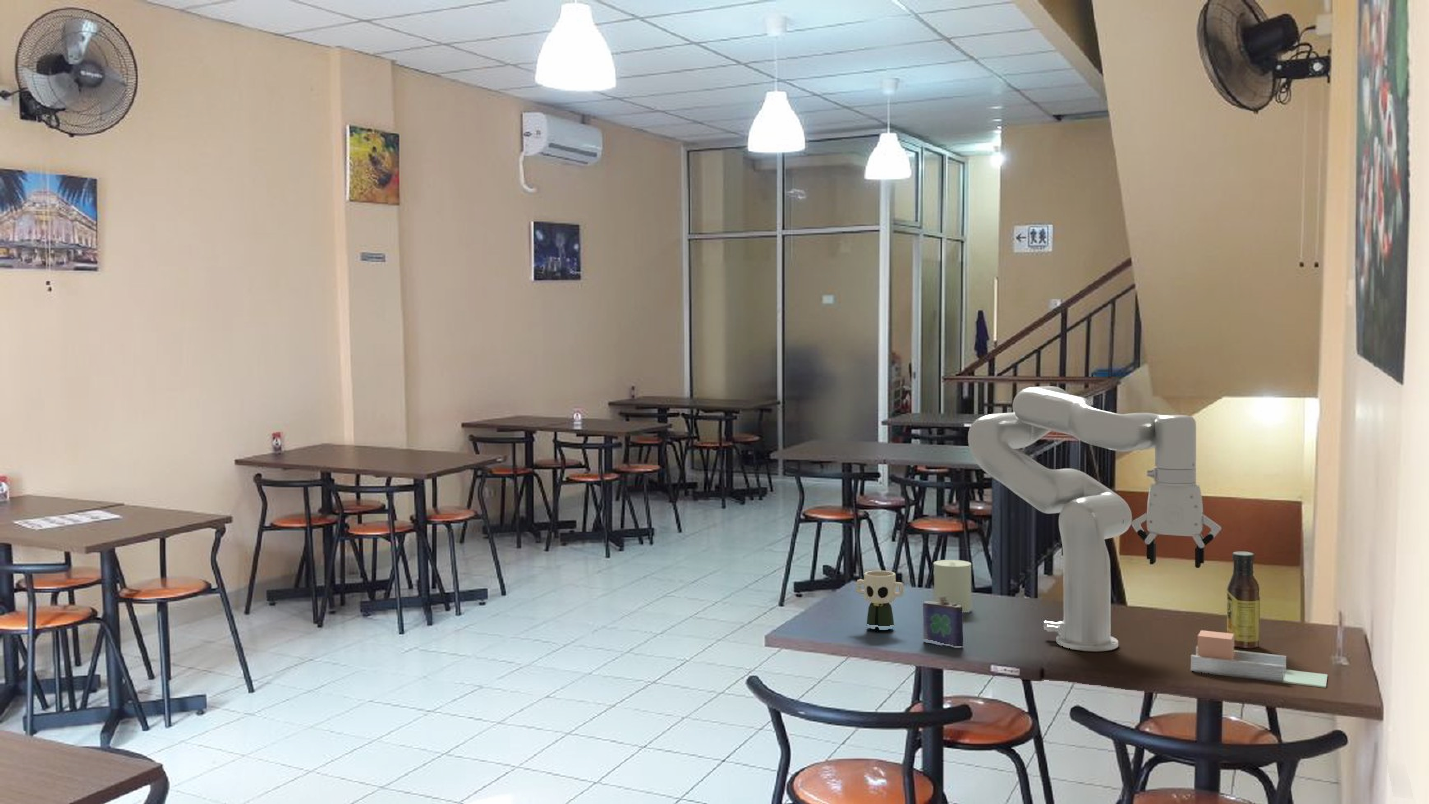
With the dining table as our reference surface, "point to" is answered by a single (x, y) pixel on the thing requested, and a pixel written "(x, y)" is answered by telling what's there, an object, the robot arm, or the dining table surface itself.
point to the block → (1216, 644)
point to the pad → (1305, 678)
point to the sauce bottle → (1243, 602)
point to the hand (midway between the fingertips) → (1175, 564)
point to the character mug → (880, 596)
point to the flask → (943, 622)
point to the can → (953, 582)
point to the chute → (1243, 665)
